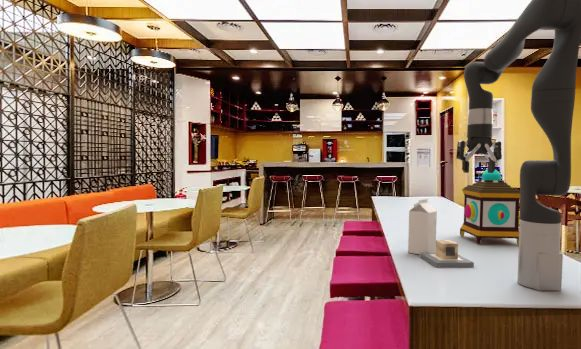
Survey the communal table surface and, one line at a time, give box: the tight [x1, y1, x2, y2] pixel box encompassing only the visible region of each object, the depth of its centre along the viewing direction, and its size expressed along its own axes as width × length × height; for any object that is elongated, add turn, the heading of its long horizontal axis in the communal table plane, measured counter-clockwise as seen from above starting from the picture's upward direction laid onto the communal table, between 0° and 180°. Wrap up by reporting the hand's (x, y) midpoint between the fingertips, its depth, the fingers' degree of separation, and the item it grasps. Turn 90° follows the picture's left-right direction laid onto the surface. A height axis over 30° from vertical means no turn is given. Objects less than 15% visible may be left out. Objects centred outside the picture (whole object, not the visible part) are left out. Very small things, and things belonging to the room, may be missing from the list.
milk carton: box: [407, 198, 438, 256], centre depth 135 cm, size 7×7×19 cm
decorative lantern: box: [459, 169, 520, 246], centre depth 157 cm, size 20×20×30 cm
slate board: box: [419, 252, 475, 268], centre depth 124 cm, size 12×12×2 cm
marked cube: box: [435, 239, 459, 259], centre depth 123 cm, size 5×5×5 cm
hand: (478, 172), depth 126 cm, fingers open, 8 cm apart
